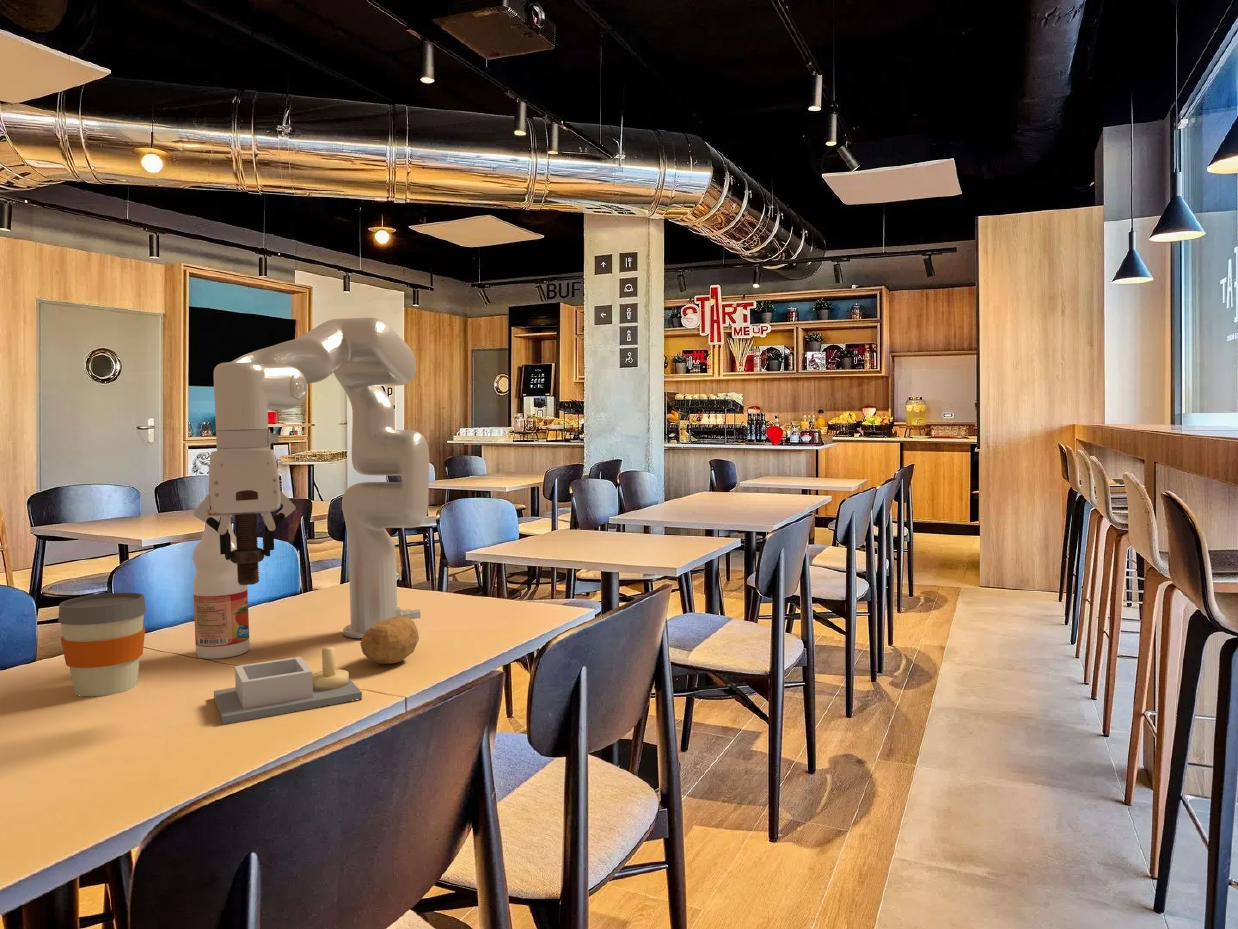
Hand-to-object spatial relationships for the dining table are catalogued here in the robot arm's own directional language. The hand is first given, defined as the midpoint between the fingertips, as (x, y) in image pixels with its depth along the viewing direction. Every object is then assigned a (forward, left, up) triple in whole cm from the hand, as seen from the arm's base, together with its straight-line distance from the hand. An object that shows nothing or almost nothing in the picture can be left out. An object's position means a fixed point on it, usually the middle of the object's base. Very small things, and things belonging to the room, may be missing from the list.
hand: (247, 555), depth 131 cm
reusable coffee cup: (+20, -20, -23) cm, 37 cm away
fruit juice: (+1, -33, -23) cm, 41 cm away
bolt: (0, 0, -5) cm, 5 cm away
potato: (-25, -9, -23) cm, 35 cm away
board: (-5, +3, -23) cm, 24 cm away
